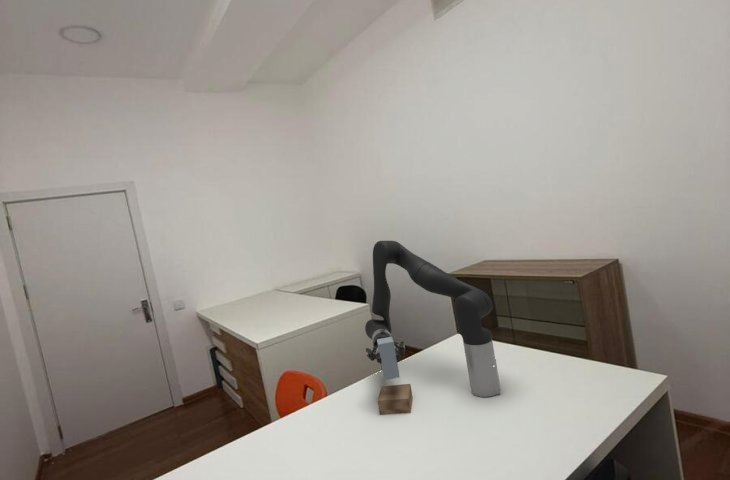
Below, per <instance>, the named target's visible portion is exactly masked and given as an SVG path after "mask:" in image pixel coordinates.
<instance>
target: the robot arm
mask: <svg viewBox="0 0 730 480" xmlns="http://www.w3.org/2000/svg"><path fill="white" fill-rule="evenodd" d="M388 264H392V265H397V266H399V267H400V268H402V269H403V270H405V271H406V272H407V273H408V275H409V278H410V279H411V281H412V282H413V283H415V284H416V285H417V286H419V287H421V288H422V289H423V290H426V291H427V292H429V293H432V294H436V295H440V296H444V297H449V298H452V299H454V300H455V301H454V305H453V306H454V314H455V319H456V323H457V328H458V331H459V334H460V336H461V338H462V342H463V347H464V348H463V349H464V353H465V355H464V356H465V361H466V367H467V374H468V380H469V386H470V392H471V394H473V395H474V396H476V397H479V398H490V397H493V396H496V395H497V396H498V395H501V384H500V378H499V377H500V376H499V371H498V370H499V369H498V365H497V359H496V356H495V349H494V348H495V347H494V342H493V336H492V332H491V330H490V329H488V328H485V327H482V322H481V319H483V318H484V317H486V316H488V315H490V313H491V312H492V310H493V308H494V306H493V302H492V301H493V300H492V299H491V298H490V296H489V295H488V294H487V293H486V292H484V291H483V290H481V289H479V288H477V287H475V286H473V285H471V284H469V283H466V282H464V281H462V280H460V279H458V278H456V277H454V276H453V275H452V274H450V273H447V272H446V271H444V270H442V269H441V268H439V267H438V266H436V265H434V264H433V263H431V262H429V261H427V260H425V259H424V258H422V257H420V256H419V255H416V253H413V252H412V251H410V250H409V249H408V248H406V247H405V246H404V245H402V244H401V243H400V242H398V241H396V240H379V241H377V242H376V243H375V244H374V245H373V248H372V267H373V268H372V270H373V271H372V272H373V273H372V274H373V275H372V276H373V294H372V295H373V297H372V305H371V306H372V307H371V313H373V315H377V316H379V317H382V319H375V318H371V319H369V320H367V322H366V323H365V326H364V329H365V334H366V336H367V337H368V338H369V339H371V341H372V342H371V343H372V349H371V348H369V347H367V348H365V354H366V357H367V358H368V359H369V360H370V361H371V362H372V361H375V360H376V362H377V363H379V364H380V365H381V364H382V361H381V357H380V353H379V349H378V343H377V339H382V338H387V337H392V339H393V341H394V338H393V336H392V324H391V318H390V308H391V307H390V306H391V295H392V294H391V289H390V286H389V283H388V279H387V275H386V274H387V273H386V272H387V271H386V270H387V266H388ZM394 346H395V352H396V359H397V361H400V359H401V356H403V355H405V351H406V346H405V342H404V341H402V340H401V341H400V343H396V342H395V341H394Z"/></svg>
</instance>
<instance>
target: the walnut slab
mask: <svg viewBox="0 0 730 480" xmlns="http://www.w3.org/2000/svg"><path fill="white" fill-rule="evenodd" d="M378 394H379V395H378V398H377V407H378V413H379V416H383V415H396V414H399V415H400V414H410V413H411V414H412V407H413V399H414V397H413V391H412V385H411V383H403V384H393V385H392V384H391V385H381V387H380V391H379V393H378Z"/></svg>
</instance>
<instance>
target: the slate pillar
mask: <svg viewBox="0 0 730 480" xmlns="http://www.w3.org/2000/svg"><path fill="white" fill-rule="evenodd" d="M392 338H393V336H392V337H387V338H382V339H377V343H378V349H379V353H380V357H381V361H382V364H380V365H381V371H382V372H381V373H382V377H383V379H384V381H387V380H393V379H397V378H400V377H401V376H400V371H399V364H398V360H397V359H396V352H395V346H394V343H395V341H393V340H394V338H393V339H392Z"/></svg>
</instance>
